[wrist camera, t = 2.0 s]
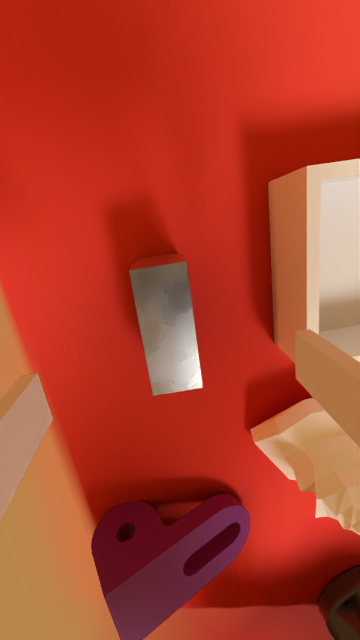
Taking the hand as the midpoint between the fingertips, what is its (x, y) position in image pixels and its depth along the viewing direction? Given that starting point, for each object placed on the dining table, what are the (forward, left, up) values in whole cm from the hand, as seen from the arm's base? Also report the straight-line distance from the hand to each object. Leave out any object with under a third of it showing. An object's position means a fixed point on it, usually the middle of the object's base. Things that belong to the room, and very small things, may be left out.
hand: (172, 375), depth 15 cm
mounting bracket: (-29, +3, -15) cm, 33 cm away
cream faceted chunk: (-17, -15, -15) cm, 27 cm away
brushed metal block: (0, 0, -15) cm, 15 cm away
